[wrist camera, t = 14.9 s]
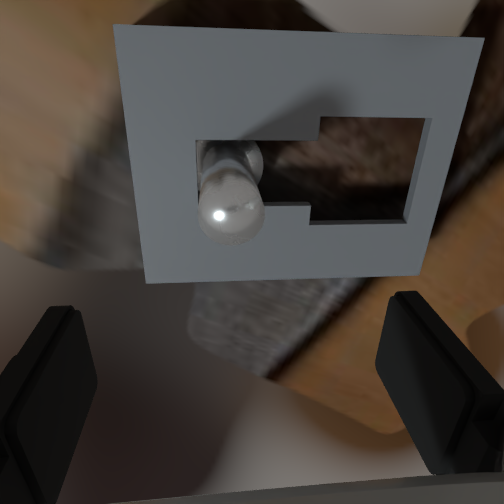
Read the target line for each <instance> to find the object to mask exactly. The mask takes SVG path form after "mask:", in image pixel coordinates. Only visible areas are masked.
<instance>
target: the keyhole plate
mask: <svg viewBox="0 0 504 504" xmlns="http://www.w3.org/2000/svg"><path fill="white" fill-rule="evenodd" d="M113 30H114V38H115V46H116V53H117V61H118V69H119V77H120V85H121V92H122V100H123V108H124V116H125V123H126V131H127V139H128V147H129V155H130V162H131V170H132V178H133V186H134V193H135V201H136V209H137V217H138V225H139V232H140V240H141V248H142V256H143V263H144V271H145V279H146V283H179V282H212V281H245V280H279V279H312V278H345V277H379V276H412V275H419V274H420V270H421V267H422V263H423V259H424V256H425V252H426V248H427V245H428V241H429V238H430V234H431V230H432V227H433V223H434V220H435V216H436V212H437V209H438V205H439V202H440V198H441V194H442V191H443V187H444V183H445V180H446V176H447V173H448V169H449V165H450V162H451V158H452V155H453V151H454V147H455V144H456V140H457V137H458V133H459V129H460V126H461V122H462V119H463V115H464V111H465V108H466V104H467V100H468V97H469V93H470V90H471V86H472V82H473V79H474V75H475V72H476V68H477V64H478V61H479V57H480V54H481V50H482V46H483V43H484V39H485V38H474V37H447V36H419V35H392V34H363V33H338V32H311V31H284V30H257V29H230V28H203V27H176V26H149V25H122V24H113ZM320 116H330V117H402V118H425V123H424V127H423V131H422V136H421V140H420V144H419V149H418V153H417V157H416V161H415V166H414V170H413V174H412V179H411V183H410V187H409V192H408V196H407V200H406V204H405V209H404V213H403V217H402V219H393V220H323V221H309V220H310V210H311V205H310V204H309V202H263V205H264V209H265V219H264V223H263V226H262V228H261V229H260V231H259V232H258V234H257V235H256V236H255V237H253V238H252V239H251V240H249V241H247V242H245V243H243V244H239V245H223V244H219V243H217V242H215V241H213V240H211V239H210V238H209V237H208V236H207V235H206V234H205V233H204V232H203V231H202V229H201V227H200V225H199V221H198V205H199V197H198V174H197V152H196V140H295V141H318V135H319V126H320Z"/></svg>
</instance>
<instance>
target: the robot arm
mask: <svg viewBox="0 0 504 504" xmlns="http://www.w3.org/2000/svg"><path fill="white" fill-rule="evenodd" d="M375 366H376V370H377V373H378V375H379V376H380V378H381V380H382V382H383V384H384V386H385V388H386V390H387V392H388V394H389V396H390V398H391V400H392V401H393V403H394V405H395V407H396V409H397V411H398V413H399V415H400V417H401V419H402V421H403V423H404V424H405V426H406V428H407V430H408V432H409V434H410V436H411V438H412V440H413V442H414V444H415V445H416V447H417V449H418V451H419V453H420V455H421V457H422V459H423V461H424V463H425V465H426V467H427V468H428V470H429V472H430V473H431V474H433V475H431V476H417V477H404V478H392V479H381V480H368V481H356V482H344V483H332V484H320V485H309V486H298V487H286V488H275V489H263V490H253V491H241V492H231V493H220V494H208V495H197V496H187V497H176V498H166V499H156V500H145V501H134V502H124V503H113V504H504V390H503V389H502V388H501V386H500V385H499V384H498V383H497V382H496V381H495V379H494V378H493V377H492V376H491V375H490V374H489V373H488V371H487V370H486V369H485V368H484V367H483V366H482V365H481V363H480V362H479V361H478V360H477V359H476V358H475V357H474V355H473V354H472V353H471V352H470V351H469V350H468V349H467V347H466V346H465V345H464V344H463V343H462V342H461V341H460V339H459V338H458V337H457V336H456V335H455V334H454V333H453V331H452V330H451V329H450V328H449V327H448V326H447V325H446V323H445V322H444V321H443V320H442V319H441V318H440V317H439V315H438V314H437V313H436V312H435V311H434V310H433V309H432V307H431V306H430V305H429V304H428V303H427V302H426V301H425V299H424V298H423V297H422V296H421V295H420V294H419V293H418V292H417V291H398V292H396V293H395V295H394V296H392V297H390V299H389V302H388V307H387V311H386V316H385V320H384V325H383V329H382V333H381V338H380V342H379V347H378V351H377V355H376V360H375ZM96 389H97V374H96V370H95V367H94V363H93V359H92V355H91V351H90V347H89V343H88V339H87V335H86V331H85V327H84V323H83V319H82V315H81V312H80V311H79V310H74V308H73V306H71V305H70V306H51V307H49V308H48V309H47V310H46V312H45V313H44V315H43V317H42V318H41V319H40V321H39V323H38V324H37V326H36V327H35V329H34V330H33V332H32V333H31V335H30V336H29V338H28V339H27V341H26V342H25V344H24V345H23V347H22V348H21V350H20V351H19V353H18V354H17V355H15V356H14V357H13V358H12V359H11V360H10V361H9V363H8V364H7V366H6V367H5V369H4V371H3V372H2V373H1V375H0V504H55V503H56V502H57V499H58V496H59V493H60V491H61V488H62V485H63V482H64V479H65V476H66V474H67V471H68V468H69V465H70V462H71V460H72V457H73V454H74V451H75V448H76V445H77V442H78V440H79V437H80V434H81V431H82V428H83V426H84V423H85V420H86V417H87V414H88V412H89V408H90V406H91V403H92V400H93V397H94V395H95V392H96ZM434 474H436V475H434Z"/></svg>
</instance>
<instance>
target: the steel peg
mask: <svg viewBox="0 0 504 504" xmlns="http://www.w3.org/2000/svg"><path fill="white" fill-rule="evenodd" d="M196 152H197V174H198V190H199V191H200V196H199V205H198V221H199V225H200V227H201V229H202V231H203V232H204V233H205V234H206V235H207V236H208V237H209V238H210V239H211V240H213V241H215V242H217V243H219V244H223V245H239V244H243V243H245V242H247V241H249V240H251V239H252V238H253V237H255V236H256V235H257V234H258V232H259V231H260V229H261V228H262V226H263V223H264V219H265V209H264V205H263V202H262V199H261V196H260V193H259V190H258V187H257V185H258V184H259V182H260V180H261V177H262V173H263V158H262V154H261V152H260V149H259V147H258V145H257V143H256V142H255V140H196Z"/></svg>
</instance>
